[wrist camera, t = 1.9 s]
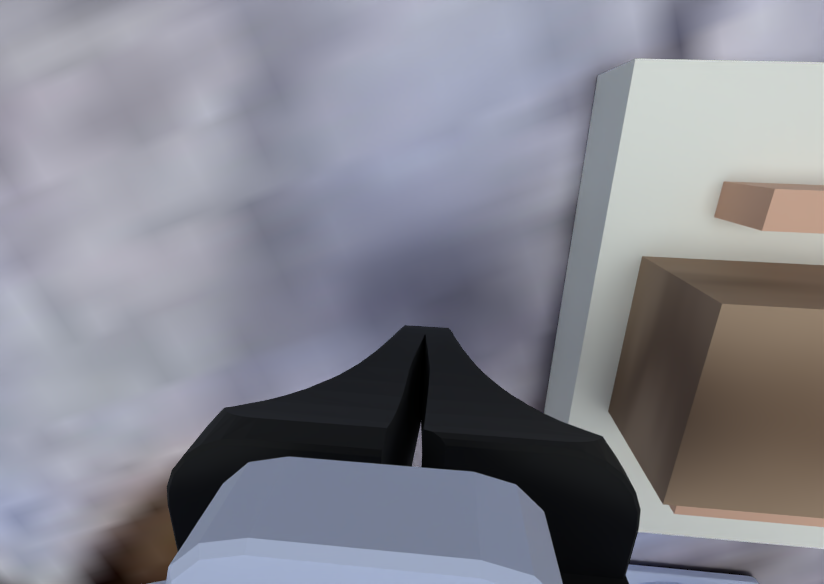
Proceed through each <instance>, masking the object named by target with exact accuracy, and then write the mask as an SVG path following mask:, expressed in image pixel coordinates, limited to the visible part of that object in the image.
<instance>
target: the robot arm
mask: <svg viewBox="0 0 824 584" xmlns="http://www.w3.org/2000/svg"><path fill="white" fill-rule="evenodd" d="M420 423H421V430H422V467H412V462H413V457H414V452H415V448H416V443H417V438H418V433H419V428H420ZM167 498H168V508H169V512H170V517H171V522H172V526H173V531H174V536H175V541H176V545H177V550H178V553H177V555H176V556H175V558H174V559H173V561H172V562H171V564H170V565H169V567H168V574H167V580H166V581H160V582H154V583H149V584H759V583H758V581H757V580H756V579H755V578H754V577H751V576H744V575H734V574H724V573H713V572H703V571H693V570H682V569H672V568H662V567H651V566H641V565H630V564H629V561H630V558H631V554H632V551H633V547H634V544H635V540H636V537H637V533H638V529H639V522H640V512H641V509H640V505H639V502H638V498H637V494H636V491H635V489H634V487H633V485H632V484H631V482H630V480H629V478H628V476H627V474H626V472H625V470H624V469H623V467H622V465H621V464H620V462H619V460H618V458H617V457H616V455H615V454H614V452H613V451H612V449H611V448H610V447H609V445H608V444H607V442H606V440H605V439H604V437H603V436H601V435H598V434H595V433H592V432H589V431H586V430H584V429H581V428H578V427H575V426H572V425H570V424H567V423H564V422H562V421H559V420H557V419H555V418H553V417H551V416H549V415H546V414H544V413H542V412H540V411H538V410H536V409H534V408H533V407H531V406H529V405H527V404H525V403H524V402H522V401H521V400H519V399H517V398H516V397H514V396H512V395H511V394H509V393H508V392H507V391H505V390H504V389H502V388H501V387H500V386H499V385H497V384H496V383H495V382H494V381H492V380H491V379H490V378H489V377H488V376H486V375H485V374H484V373H483V372H482V371H481V370H480V369H479V368H478V367H477V366H476V365H475V364H474V362H473V361H472V360H471V359H470V358H469V356H468V355H467V354H466V353H465V351H464V350H463V349H462V347H461V346H460V344H459V343H458V341H457V340H456V338H455V337H454V335H453V333H452V332H451V330H450V329H449V328H438V327H422V326H406V325H405V326H404V327H403V328H401V329H400V330H399V331H398V332H397V333H396V334H395V335H394V336H393V337H392V338H391V339H390V340H388V341H387V342H386V343H385V344H384V345H383V346H382V347H380V348H379V349H378V350H377V351H376V352H374V353H373V354H372V355H370V356H369V357H368V358H366V359H365V360H363V361H362V362H361V363H359V364H357V365H356V366H354V367H353V368H351V369H349V370H347V371H345V372H344V373H342V374H340V375H338V376H336V377H334V378H332V379H329V380H327V381H324V382H322V383H320V384H317V385H315V386H312V387H310V388H307V389H304V390H301V391H298V392H295V393H292V394H289V395H285V396H281V397H278V398H274V399H270V400H265V401H260V402H255V403H249V404H244V405H239V406H233V407H226V408H224V409H223V410H222V411H221V412H220V413H219V414H218V415H217V416H216V417H215V418H214V419H213V421H212V422H211V423H210V424H209V425H208V426H207V427H206V429H205V430H204V431H203V432H202V433H201V435H200V436H199V437H198V438H197V440H196V441H195V442H194V443H193V445H192V446H191V447H190V448H189V449H188V451H187V452H186V453H185V454H184V456H183V457H182V458H181V459H180V461H179V462H178V463H177V464H176V466H175V467H174V468H173V470H172V472H171V475H170V478H169V482H168V485H167Z"/></svg>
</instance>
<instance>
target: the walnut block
mask: <svg viewBox="0 0 824 584" xmlns="http://www.w3.org/2000/svg"><path fill="white" fill-rule="evenodd" d="M608 412H609V414H610V415H611V417H612V419H613V421H614V422H615V424H616V426H617V427H618V429H619V431H620V432H621V434H622V436H623V438H624V439H625V441H626V443H627V444H628V446H629V448H630V449H631V451H632V453H633V455H634V456H635V458H636V460H637V461H638V463H639V465H640V466H641V468H642V470H643V472H644V473H645V475H646V477H647V478H648V480H649V482H650V483H651V485H652V487H653V489H654V490H655V492H656V494H657V495H658V497H659V499H660V500H661V502H662V504H663V505H675V506H686V507H698V508H709V509H721V510H732V511H744V512H755V513H767V514H778V515H789V516H801V517H812V518H824V265H810V264H790V263H770V262H749V261H729V260H709V259H689V258H669V257H649V256H642V259H641V263H640V268H639V272H638V277H637V282H636V286H635V291H634V295H633V300H632V304H631V309H630V314H629V318H628V323H627V327H626V332H625V336H624V341H623V345H622V350H621V355H620V359H619V364H618V368H617V373H616V377H615V382H614V387H613V391H612V396H611V400H610V405H609V409H608Z"/></svg>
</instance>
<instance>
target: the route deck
mask: <svg viewBox="0 0 824 584" xmlns="http://www.w3.org/2000/svg"><path fill="white" fill-rule="evenodd" d="M642 256H649V257H669V258H689V259H709V260H729V261H749V262H770V263H790V264H810V265H824V62H777V61H727V60H677V59H634V60H631V61H629V62H627V63H624V64H622V65H620V66H618V67H615V68H613V69H611V70H609V71H606V72H604V73H602V74H600V75H598V77H597V83H596V89H595V96H594V102H593V108H592V115H591V121H590V127H589V133H588V140H587V146H586V152H585V158H584V165H583V171H582V177H581V183H580V190H579V196H578V202H577V208H576V215H575V221H574V227H573V233H572V240H571V246H570V252H569V258H568V265H567V271H566V277H565V284H564V290H563V296H562V302H561V309H560V315H559V321H558V327H557V334H556V340H555V346H554V352H553V359H552V365H551V371H550V377H549V384H548V390H547V396H546V402H545V409H544V414H546V415H549V416H551V417H553V418H555V419H557V420H559V421H562V422H564V423H567V424H570V425H572V426H575V427H578V428H581V429H584V430H586V431H589V432H592V433H595V434H598V435H601V436H603V437H604V439H605V440H606V442H607V444H608V445H609V447H610V448H611V449H612V451H613V452H614V454H615V455H616V457H617V458H618V460H619V462H620V464H621V465H622V467H623V469H624V470H625V472H626V474H627V476H628V478H629V480H630V482H631V484H632V485H633V487H634V489H635V491H636V494H637V498H638V502H639V505H640V509H641V512H640V522H639V529H638V532H643V533H654V534H665V535H676V536H687V537H698V538H709V539H720V540H731V541H742V542H753V543H764V544H775V545H785V546H796V547H807V548H818V549H824V518H812V517H801V516H789V515H778V514H767V513H755V512H744V511H732V510H721V509H709V508H698V507H686V506H675V505H663V504H662V502H661V500H660V499H659V497H658V495H657V494H656V492H655V490H654V489H653V487H652V485H651V483H650V482H649V480H648V478H647V477H646V475H645V473H644V472H643V470H642V468H641V466H640V465H639V463H638V461H637V460H636V458H635V456H634V455H633V453H632V451H631V449H630V448H629V446H628V444H627V443H626V441H625V439H624V438H623V436H622V434H621V432H620V431H619V429H618V427H617V426H616V424H615V422H614V421H613V419H612V417H611V415H610V414H609V412H608V409H609V405H610V400H611V396H612V391H613V387H614V382H615V377H616V373H617V368H618V364H619V359H620V355H621V350H622V345H623V341H624V336H625V332H626V327H627V323H628V318H629V314H630V309H631V304H632V300H633V295H634V291H635V286H636V282H637V277H638V272H639V268H640V263H641V259H642Z"/></svg>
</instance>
